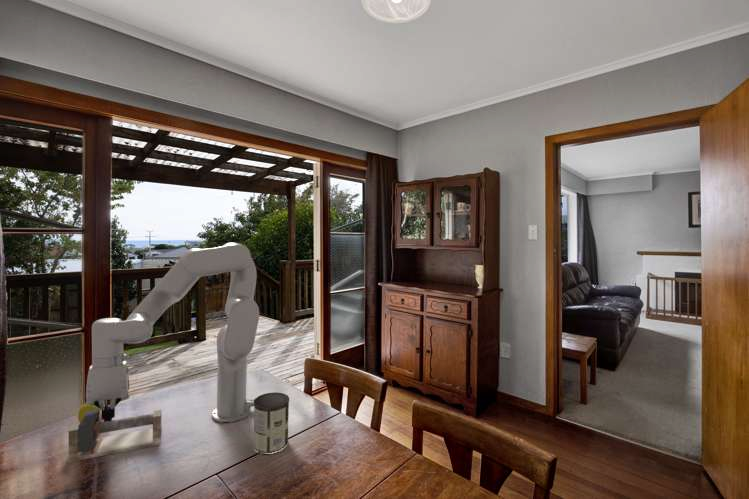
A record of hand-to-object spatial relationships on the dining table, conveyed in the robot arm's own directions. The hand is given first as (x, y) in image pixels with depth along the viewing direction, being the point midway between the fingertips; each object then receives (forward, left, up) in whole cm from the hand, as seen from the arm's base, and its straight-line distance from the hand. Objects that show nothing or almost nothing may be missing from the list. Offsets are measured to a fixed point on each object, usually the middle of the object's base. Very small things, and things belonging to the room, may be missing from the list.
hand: (108, 420), depth 110 cm
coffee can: (-44, +21, -7) cm, 49 cm away
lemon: (+7, -12, -7) cm, 16 cm away
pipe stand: (-3, +3, -6) cm, 8 cm away
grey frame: (+4, +3, -4) cm, 6 cm away
